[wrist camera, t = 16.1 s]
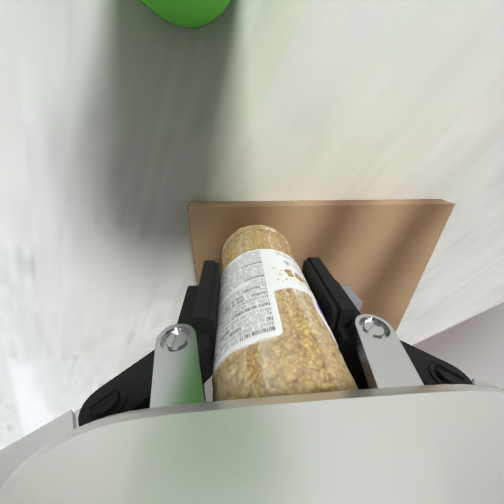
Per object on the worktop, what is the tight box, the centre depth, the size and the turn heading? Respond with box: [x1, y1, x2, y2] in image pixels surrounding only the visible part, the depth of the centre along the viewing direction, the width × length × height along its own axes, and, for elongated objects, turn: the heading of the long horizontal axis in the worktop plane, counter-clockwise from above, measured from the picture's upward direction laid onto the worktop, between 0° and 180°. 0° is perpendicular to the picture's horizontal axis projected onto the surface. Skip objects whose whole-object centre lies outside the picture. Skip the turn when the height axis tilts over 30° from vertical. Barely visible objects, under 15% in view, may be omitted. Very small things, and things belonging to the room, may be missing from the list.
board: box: [187, 199, 455, 332], centre depth 18 cm, size 18×14×1 cm
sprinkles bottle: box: [212, 225, 359, 401], centre depth 8 cm, size 5×5×13 cm
